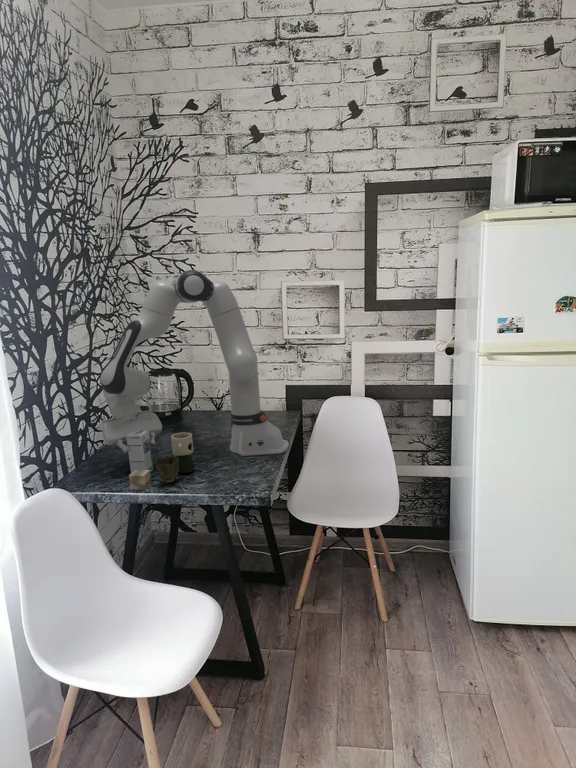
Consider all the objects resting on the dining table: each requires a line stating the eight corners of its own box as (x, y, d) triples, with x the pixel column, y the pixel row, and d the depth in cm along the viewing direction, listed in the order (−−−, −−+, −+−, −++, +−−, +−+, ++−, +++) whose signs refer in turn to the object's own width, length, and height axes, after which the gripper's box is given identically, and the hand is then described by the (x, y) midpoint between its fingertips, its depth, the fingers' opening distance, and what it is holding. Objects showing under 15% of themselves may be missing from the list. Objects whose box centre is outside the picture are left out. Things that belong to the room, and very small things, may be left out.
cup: (160, 488, 177) (158, 464, 175) (155, 481, 183) (152, 458, 182) (183, 483, 180) (181, 459, 178) (177, 476, 186) (174, 453, 185)
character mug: (193, 476, 186) (190, 439, 183) (172, 478, 186) (168, 440, 183) (197, 465, 196) (193, 430, 194) (176, 466, 196) (173, 431, 194)
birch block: (151, 484, 181) (149, 469, 180) (145, 490, 176) (143, 475, 175) (136, 484, 182) (135, 469, 181) (130, 490, 177) (128, 475, 176)
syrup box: (146, 475, 189) (142, 434, 186) (130, 475, 190) (125, 434, 187) (153, 469, 194) (149, 429, 192) (138, 469, 196) (133, 429, 193)
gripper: (98, 416, 188) (111, 450, 182) (155, 405, 199) (169, 437, 194) (95, 426, 192) (108, 460, 186) (151, 415, 204) (165, 446, 198)
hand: (140, 448), depth 190 cm, fingers open, 8 cm apart
